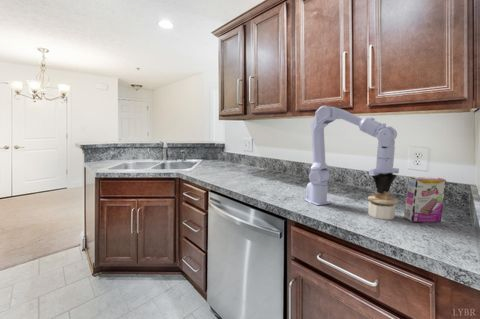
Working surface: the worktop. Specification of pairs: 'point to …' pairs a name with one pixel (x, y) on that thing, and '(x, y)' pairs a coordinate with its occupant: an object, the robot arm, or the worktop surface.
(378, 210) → the bowl
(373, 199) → the lid
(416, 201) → the candy bar box
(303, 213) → the worktop surface
